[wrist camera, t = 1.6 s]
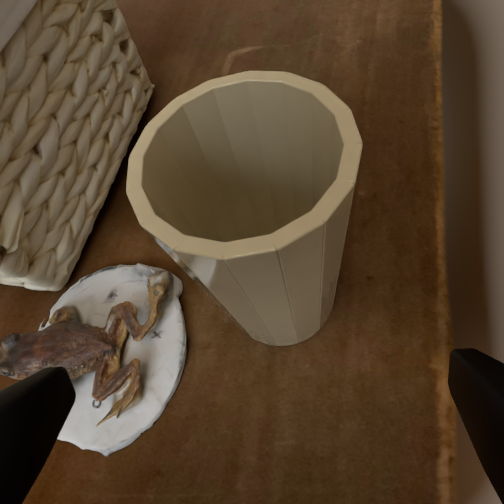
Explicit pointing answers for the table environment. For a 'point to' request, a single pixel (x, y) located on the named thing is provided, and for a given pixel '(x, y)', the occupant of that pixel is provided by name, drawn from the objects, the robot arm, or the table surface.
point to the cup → (252, 196)
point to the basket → (61, 129)
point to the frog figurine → (109, 352)
